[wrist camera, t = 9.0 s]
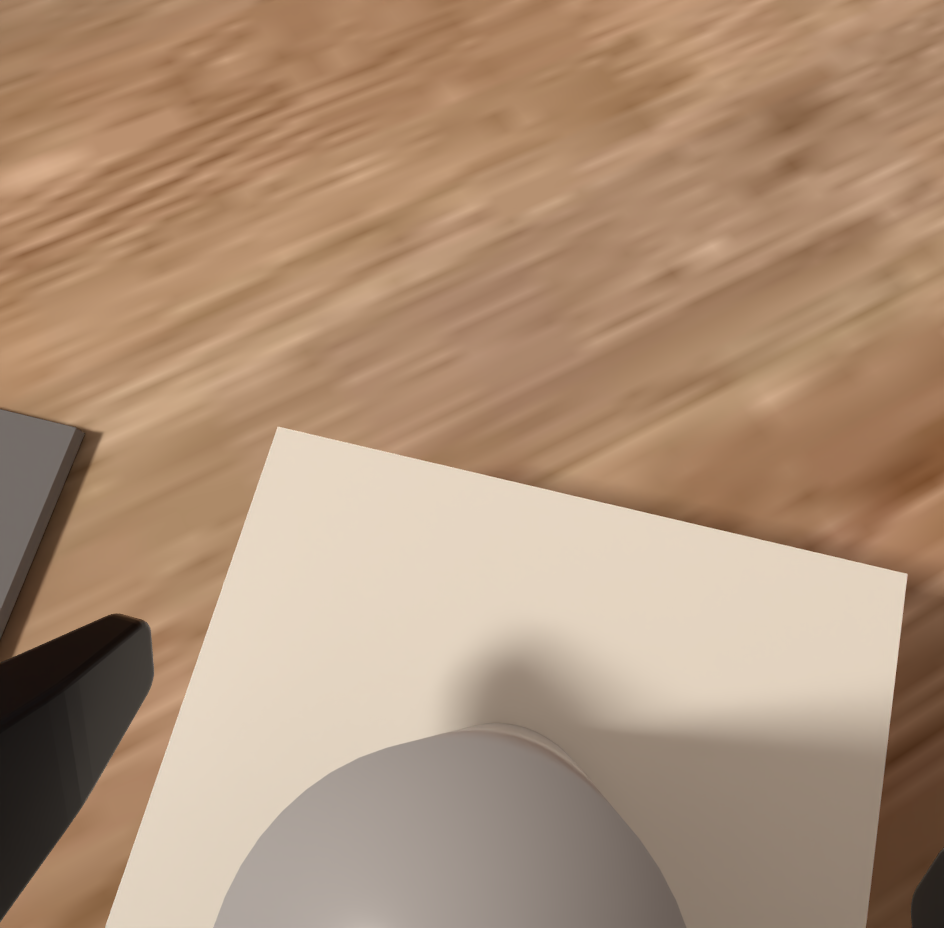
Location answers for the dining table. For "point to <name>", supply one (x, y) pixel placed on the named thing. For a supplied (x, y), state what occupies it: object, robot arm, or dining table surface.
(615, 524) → the cream bowl cover
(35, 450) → the charcoal rubber mat
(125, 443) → the dining table surface
